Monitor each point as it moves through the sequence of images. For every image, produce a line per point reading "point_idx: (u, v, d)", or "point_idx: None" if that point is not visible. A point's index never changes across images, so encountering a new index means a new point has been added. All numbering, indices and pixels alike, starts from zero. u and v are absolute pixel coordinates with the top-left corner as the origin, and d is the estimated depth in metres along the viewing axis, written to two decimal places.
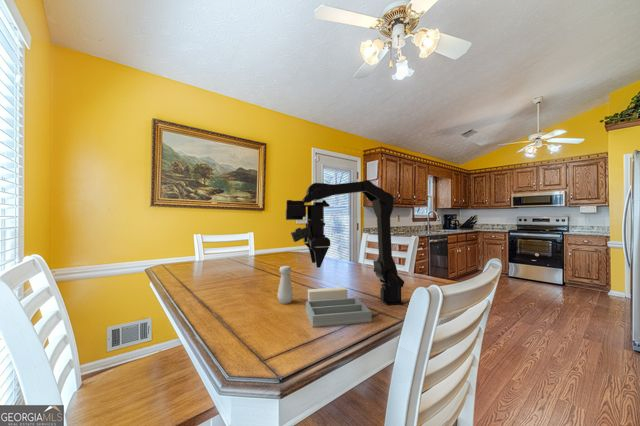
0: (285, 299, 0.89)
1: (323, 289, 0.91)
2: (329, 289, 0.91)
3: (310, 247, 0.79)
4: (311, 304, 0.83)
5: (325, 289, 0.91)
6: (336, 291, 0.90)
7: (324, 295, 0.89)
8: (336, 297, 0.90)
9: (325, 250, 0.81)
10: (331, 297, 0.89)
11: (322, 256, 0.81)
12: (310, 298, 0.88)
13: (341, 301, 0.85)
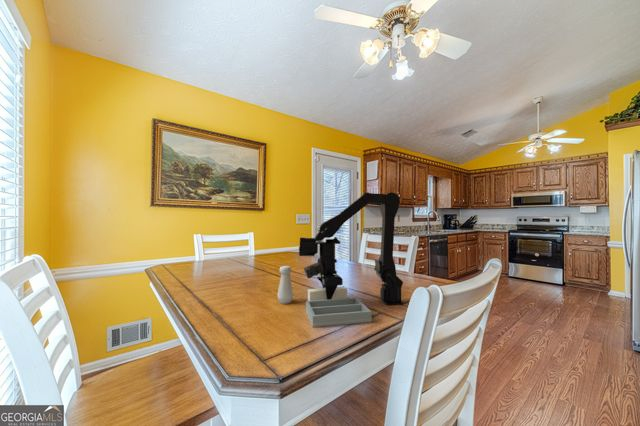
0: (285, 299, 0.89)
1: (323, 289, 0.91)
2: None
3: None
4: (311, 304, 0.83)
5: None
6: (336, 290, 0.90)
7: (324, 295, 0.89)
8: (336, 296, 0.90)
9: (335, 285, 0.88)
10: None
11: (332, 291, 0.88)
12: (311, 298, 0.87)
13: (341, 301, 0.85)
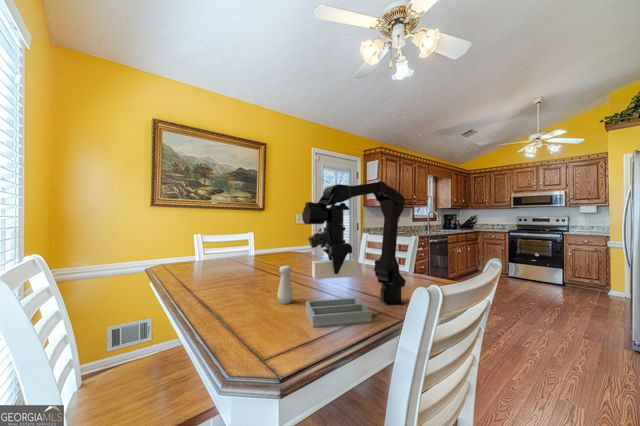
0: (285, 299, 0.89)
1: (330, 261, 0.81)
2: None
3: (328, 253, 0.76)
4: (311, 304, 0.83)
5: None
6: (344, 262, 0.80)
7: (331, 267, 0.79)
8: (344, 269, 0.80)
9: (344, 256, 0.77)
10: None
11: (340, 262, 0.78)
12: (316, 270, 0.77)
13: (341, 301, 0.85)
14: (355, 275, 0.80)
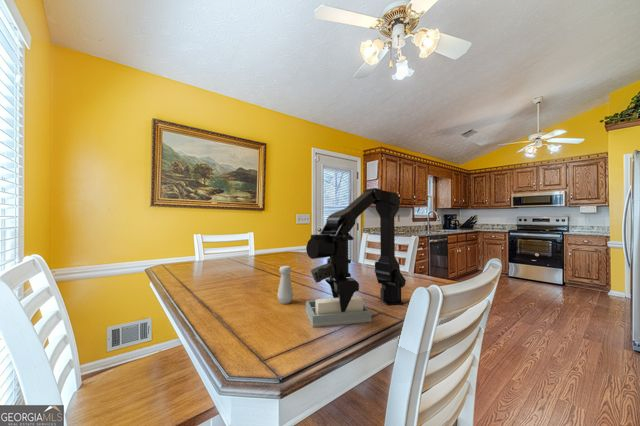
0: (285, 299, 0.89)
1: (334, 299, 0.76)
2: None
3: (335, 290, 0.69)
4: (311, 304, 0.83)
5: (336, 299, 0.76)
6: (350, 301, 0.75)
7: (336, 307, 0.74)
8: (350, 309, 0.75)
9: (351, 293, 0.71)
10: None
11: (348, 299, 0.71)
12: (319, 311, 0.72)
13: None
14: None
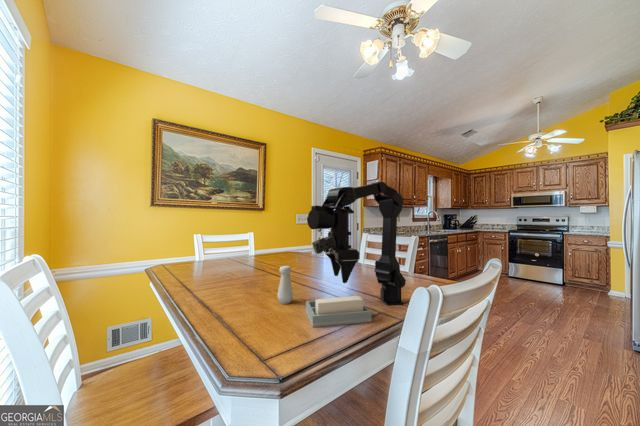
0: (285, 299, 0.89)
1: (334, 299, 0.76)
2: (341, 299, 0.76)
3: (336, 260, 0.70)
4: (311, 304, 0.83)
5: (336, 299, 0.76)
6: (350, 301, 0.75)
7: (336, 307, 0.74)
8: (350, 309, 0.75)
9: (353, 263, 0.71)
10: (344, 309, 0.74)
11: (349, 270, 0.71)
12: (319, 311, 0.72)
13: None
14: None
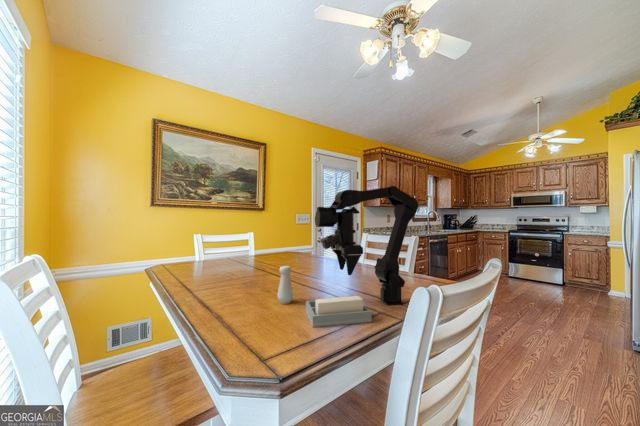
0: (285, 299, 0.89)
1: (334, 299, 0.76)
2: (341, 299, 0.76)
3: (342, 255, 0.79)
4: (311, 304, 0.83)
5: (336, 299, 0.76)
6: (350, 301, 0.75)
7: (336, 307, 0.74)
8: (350, 309, 0.75)
9: (357, 258, 0.80)
10: (344, 309, 0.74)
11: (354, 264, 0.81)
12: (319, 311, 0.72)
13: None
14: None
